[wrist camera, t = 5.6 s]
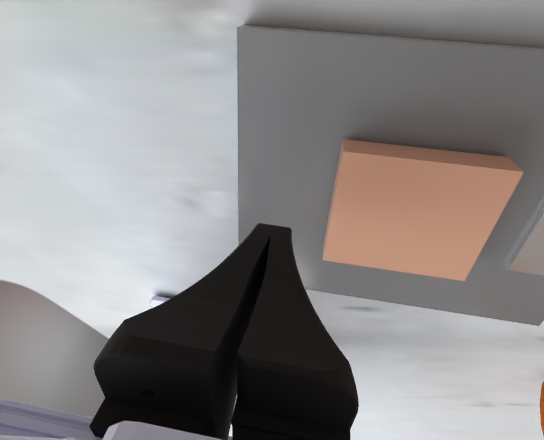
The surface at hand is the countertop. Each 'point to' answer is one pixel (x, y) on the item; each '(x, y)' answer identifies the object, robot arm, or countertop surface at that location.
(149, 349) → the robot arm
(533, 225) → the steel turner
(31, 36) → the countertop surface
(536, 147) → the slate board
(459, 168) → the tile
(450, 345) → the countertop surface
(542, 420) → the carrot
